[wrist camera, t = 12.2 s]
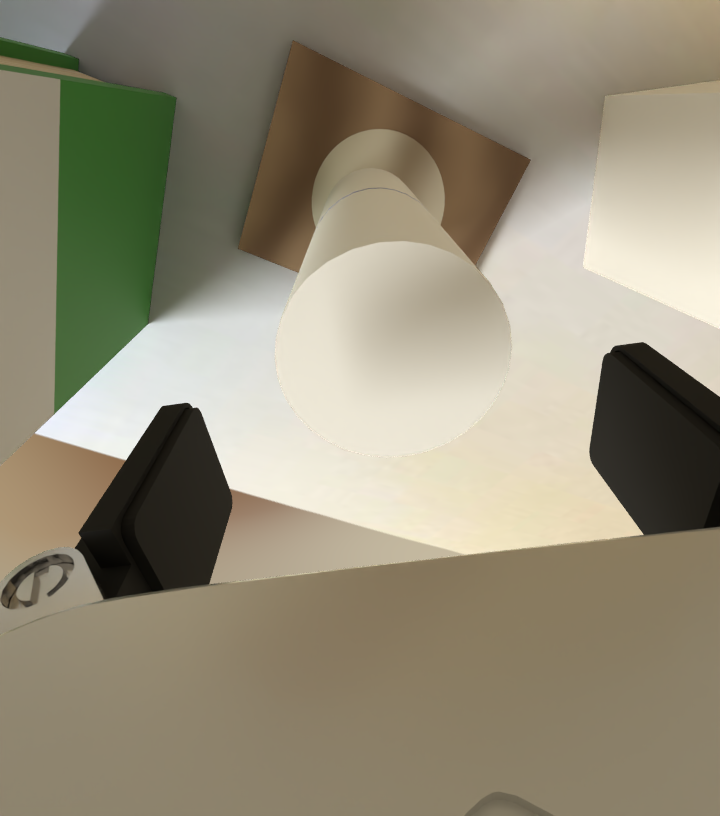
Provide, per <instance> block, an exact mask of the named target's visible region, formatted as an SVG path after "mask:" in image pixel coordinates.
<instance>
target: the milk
mask: <svg viewBox="0 0 720 816" xmlns="http://www.w3.org/2000/svg"><path fill="white" fill-rule="evenodd" d="M583 268H585V269H588V270H590V271H592V272H594V273H596V274H599V275H601V276H603V277H605V278H607V279H610V280H612V281H614V282H616V283H619V284H621V285H623V286H625V287H627V288H630V289H632V290H634V291H636V292H639V293H641V294H643V295H645V296H647V297H650V298H652V299H654V300H656V301H659V302H661V303H663V304H665V305H667V306H670V307H672V308H674V309H676V310H679V311H681V312H683V313H685V314H687V315H690V316H692V317H694V318H696V319H699V320H701V321H703V322H705V323H707V324H710V325H712V326H714V327H716V328H718V329H720V80H716V81H709V82H702V83H695V84H687V85H680V86H673V87H666V88H659V89H651V90H644V91H637V92H630V93H622V94H615V95H608V96H605V100H604V108H603V116H602V124H601V131H600V139H599V147H598V154H597V162H596V170H595V178H594V185H593V193H592V201H591V209H590V216H589V224H588V232H587V240H586V247H585V255H584V263H583Z"/></svg>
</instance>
